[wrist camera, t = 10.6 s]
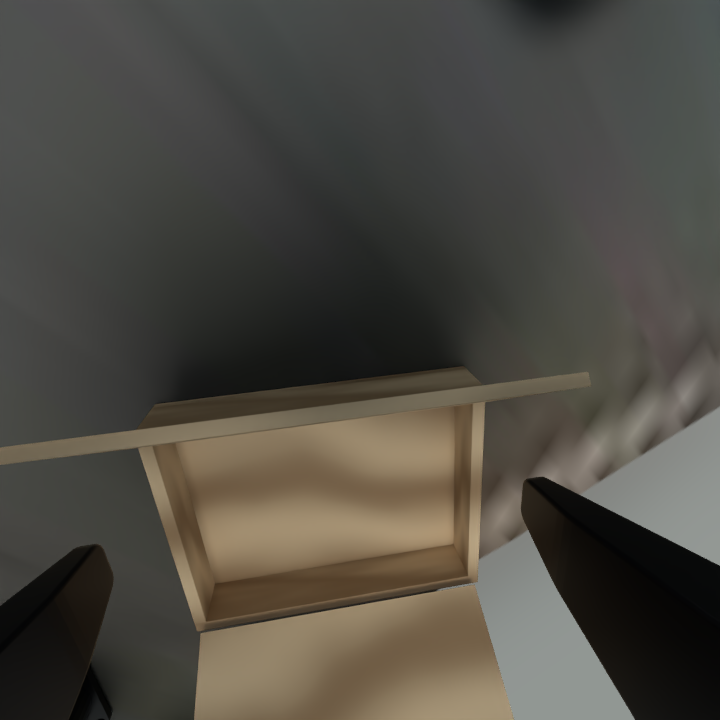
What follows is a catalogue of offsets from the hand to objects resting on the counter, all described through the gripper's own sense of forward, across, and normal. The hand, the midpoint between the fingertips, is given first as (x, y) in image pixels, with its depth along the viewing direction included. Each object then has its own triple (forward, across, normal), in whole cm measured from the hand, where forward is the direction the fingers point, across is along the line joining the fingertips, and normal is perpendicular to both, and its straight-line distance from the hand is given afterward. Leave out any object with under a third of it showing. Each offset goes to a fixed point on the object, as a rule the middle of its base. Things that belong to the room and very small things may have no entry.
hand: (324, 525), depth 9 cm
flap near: (+6, 0, +1) cm, 6 cm away
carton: (+12, 0, +9) cm, 15 cm away
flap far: (+6, 0, +16) cm, 17 cm away
